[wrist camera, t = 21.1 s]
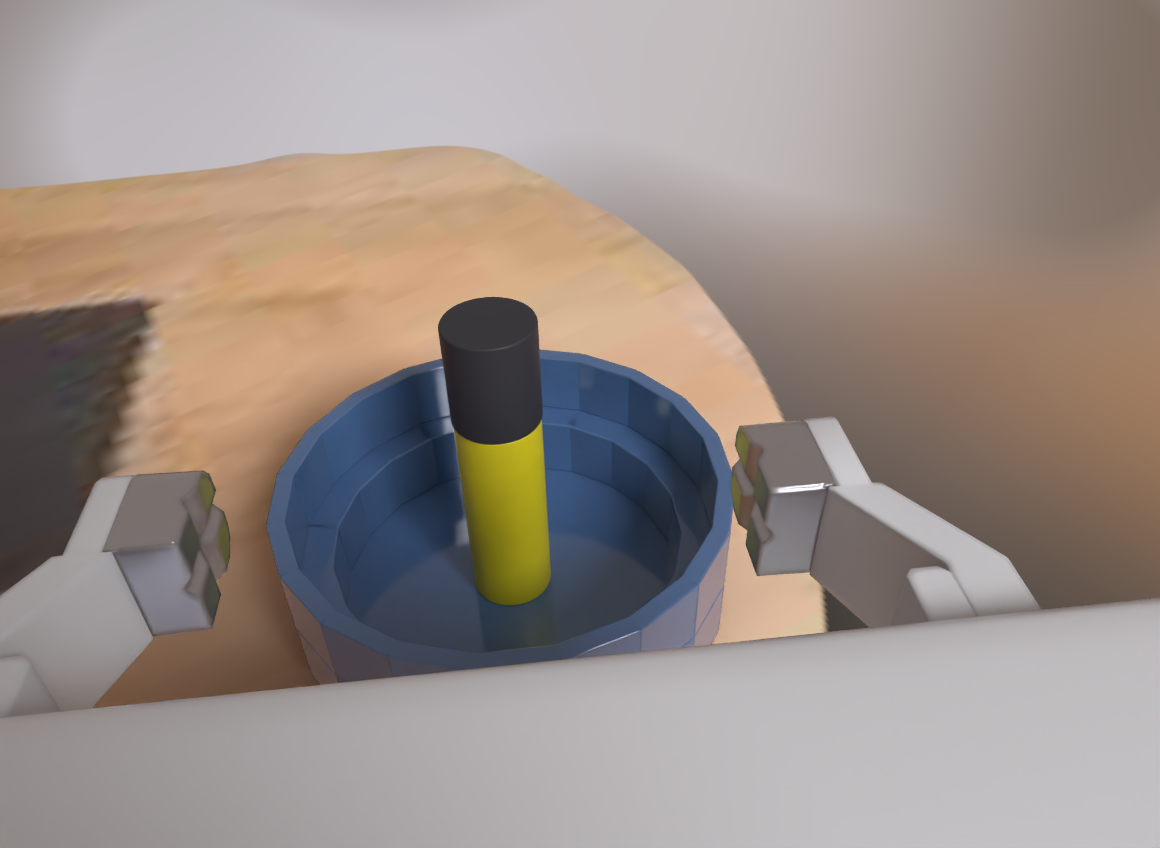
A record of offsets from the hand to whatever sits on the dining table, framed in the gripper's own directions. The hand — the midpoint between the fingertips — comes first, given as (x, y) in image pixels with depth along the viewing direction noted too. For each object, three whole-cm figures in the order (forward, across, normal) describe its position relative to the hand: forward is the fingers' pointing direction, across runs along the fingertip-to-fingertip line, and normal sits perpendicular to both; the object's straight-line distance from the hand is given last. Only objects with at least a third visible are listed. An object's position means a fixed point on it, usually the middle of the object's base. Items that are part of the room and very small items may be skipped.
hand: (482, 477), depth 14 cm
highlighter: (+12, 0, +16) cm, 20 cm away
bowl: (+12, 0, +16) cm, 20 cm away
